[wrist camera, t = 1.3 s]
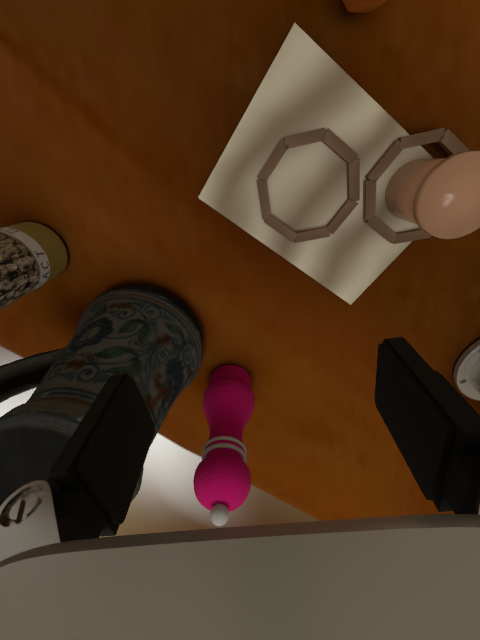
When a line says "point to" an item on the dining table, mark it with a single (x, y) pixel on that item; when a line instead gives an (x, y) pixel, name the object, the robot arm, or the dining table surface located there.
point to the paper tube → (28, 259)
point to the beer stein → (96, 376)
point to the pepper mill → (225, 443)
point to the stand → (319, 170)
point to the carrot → (362, 5)
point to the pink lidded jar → (438, 194)
